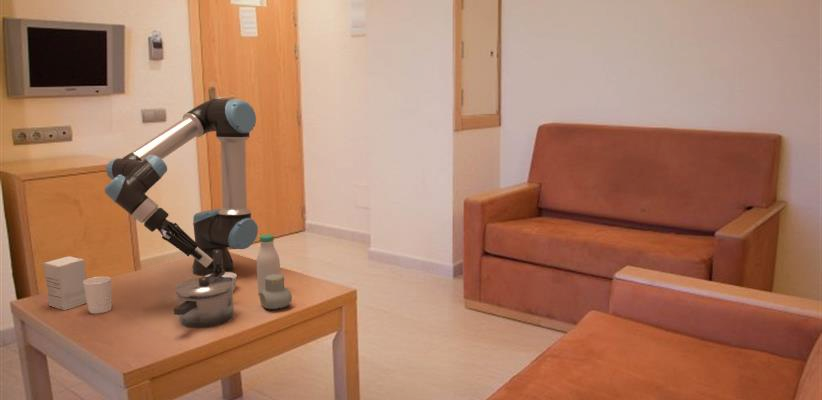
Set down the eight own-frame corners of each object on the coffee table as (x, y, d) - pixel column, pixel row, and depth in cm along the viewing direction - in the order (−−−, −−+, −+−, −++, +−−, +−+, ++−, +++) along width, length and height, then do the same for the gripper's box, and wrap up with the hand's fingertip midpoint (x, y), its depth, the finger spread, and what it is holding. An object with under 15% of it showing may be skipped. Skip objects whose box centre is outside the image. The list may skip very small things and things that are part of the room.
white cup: (103, 315, 205) (99, 284, 203) (81, 313, 207) (77, 283, 205) (119, 306, 213) (115, 276, 211) (97, 305, 214) (94, 275, 212)
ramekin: (236, 284, 233) (235, 270, 232) (239, 293, 223) (238, 278, 222) (203, 288, 230) (202, 273, 229) (205, 298, 219) (203, 283, 218)
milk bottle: (283, 294, 221) (280, 237, 217) (260, 297, 218) (256, 239, 215) (279, 287, 228) (275, 232, 224) (256, 290, 225) (253, 234, 222)
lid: (222, 297, 191) (220, 270, 189) (166, 298, 191) (164, 270, 190) (246, 273, 214) (244, 248, 212) (196, 273, 215) (194, 248, 213)
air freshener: (294, 309, 207) (292, 278, 205) (268, 314, 203) (266, 283, 201) (283, 299, 217) (281, 270, 215) (258, 303, 213) (256, 274, 211)
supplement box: (74, 298, 222) (69, 255, 219) (90, 302, 217) (85, 258, 214) (48, 306, 214) (42, 262, 211) (64, 311, 210) (58, 266, 207)
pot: (206, 338, 185) (204, 308, 183) (155, 335, 188) (152, 305, 187) (252, 302, 213) (250, 276, 212) (207, 300, 217) (205, 274, 215)
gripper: (148, 219, 212) (205, 265, 218) (137, 229, 199) (198, 278, 204) (164, 202, 212) (220, 249, 217) (154, 211, 198) (214, 261, 204)
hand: (209, 263), depth 211 cm, fingers closed
